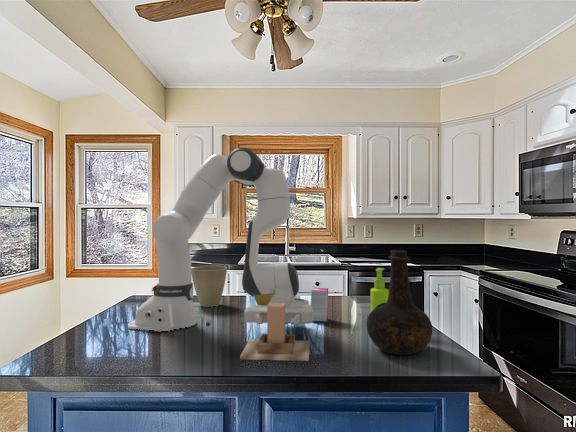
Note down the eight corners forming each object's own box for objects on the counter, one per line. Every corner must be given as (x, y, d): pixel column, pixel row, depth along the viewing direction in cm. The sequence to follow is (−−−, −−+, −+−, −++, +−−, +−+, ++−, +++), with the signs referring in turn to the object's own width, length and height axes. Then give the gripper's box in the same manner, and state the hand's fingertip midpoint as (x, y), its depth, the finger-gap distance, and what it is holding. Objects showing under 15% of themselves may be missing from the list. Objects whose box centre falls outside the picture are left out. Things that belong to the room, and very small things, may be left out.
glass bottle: (400, 336, 124) (400, 246, 124) (447, 354, 108) (447, 250, 108) (353, 345, 116) (353, 248, 115) (396, 366, 100) (396, 254, 100)
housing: (240, 359, 105) (239, 346, 105) (249, 342, 119) (249, 331, 119) (308, 360, 104) (308, 348, 104) (309, 343, 117) (309, 332, 117)
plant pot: (198, 301, 176) (198, 265, 176) (231, 302, 174) (231, 265, 174) (185, 309, 161) (185, 270, 161) (221, 310, 159) (220, 270, 159)
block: (267, 350, 109) (267, 306, 109) (269, 345, 114) (269, 303, 114) (283, 350, 109) (283, 306, 109) (285, 345, 113) (285, 303, 113)
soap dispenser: (390, 326, 135) (390, 267, 135) (386, 332, 128) (386, 270, 128) (373, 324, 137) (373, 266, 137) (368, 330, 131) (368, 269, 131)
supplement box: (326, 323, 140) (326, 290, 140) (310, 322, 141) (310, 289, 141) (328, 318, 145) (328, 287, 145) (312, 318, 147) (312, 287, 147)
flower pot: (252, 307, 164) (252, 285, 164) (261, 303, 172) (261, 282, 172) (271, 309, 161) (271, 286, 161) (280, 304, 169) (280, 283, 169)
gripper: (248, 299, 126) (239, 309, 112) (313, 300, 124) (312, 310, 110) (248, 319, 126) (239, 332, 112) (313, 320, 124) (312, 333, 110)
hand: (276, 321), depth 111 cm, fingers open, 8 cm apart
